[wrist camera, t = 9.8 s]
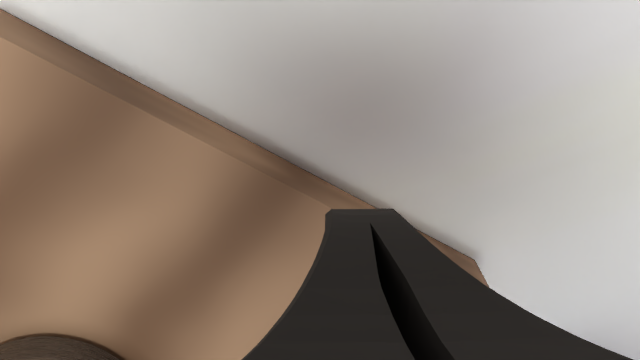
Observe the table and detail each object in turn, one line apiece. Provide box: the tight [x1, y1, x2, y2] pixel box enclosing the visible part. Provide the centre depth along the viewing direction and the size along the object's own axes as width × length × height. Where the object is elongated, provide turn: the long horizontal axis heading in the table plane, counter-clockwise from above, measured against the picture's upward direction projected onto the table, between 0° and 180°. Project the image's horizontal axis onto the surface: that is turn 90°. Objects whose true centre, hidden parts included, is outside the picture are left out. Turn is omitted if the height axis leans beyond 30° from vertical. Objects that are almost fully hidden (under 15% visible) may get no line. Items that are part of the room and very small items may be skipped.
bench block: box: [0, 9, 489, 360], centre depth 23 cm, size 19×19×2 cm
